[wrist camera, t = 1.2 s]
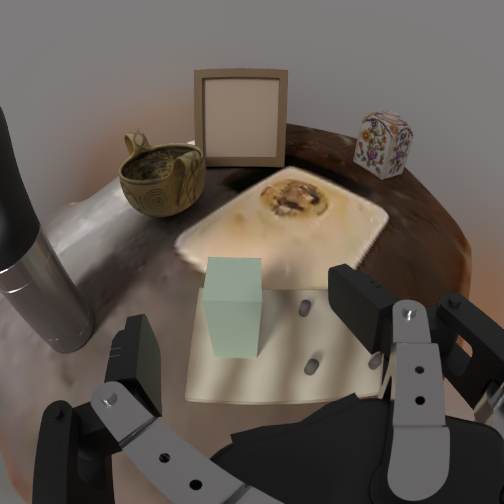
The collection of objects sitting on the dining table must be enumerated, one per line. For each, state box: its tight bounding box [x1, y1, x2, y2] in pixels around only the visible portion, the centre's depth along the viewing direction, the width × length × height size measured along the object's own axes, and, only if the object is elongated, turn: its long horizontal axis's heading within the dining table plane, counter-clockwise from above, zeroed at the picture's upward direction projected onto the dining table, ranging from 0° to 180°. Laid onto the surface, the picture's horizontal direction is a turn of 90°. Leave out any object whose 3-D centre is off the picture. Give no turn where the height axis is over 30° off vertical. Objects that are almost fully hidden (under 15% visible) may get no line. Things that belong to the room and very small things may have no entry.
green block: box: [202, 257, 262, 358], centre depth 29 cm, size 5×5×12 cm
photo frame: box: [194, 68, 288, 167], centre depth 63 cm, size 15×22×25 cm
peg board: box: [185, 288, 383, 405], centre depth 33 cm, size 24×16×4 cm, turn 90°
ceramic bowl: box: [119, 129, 206, 217], centre depth 50 cm, size 22×17×15 cm
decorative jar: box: [353, 110, 413, 180], centre depth 66 cm, size 12×12×18 cm
